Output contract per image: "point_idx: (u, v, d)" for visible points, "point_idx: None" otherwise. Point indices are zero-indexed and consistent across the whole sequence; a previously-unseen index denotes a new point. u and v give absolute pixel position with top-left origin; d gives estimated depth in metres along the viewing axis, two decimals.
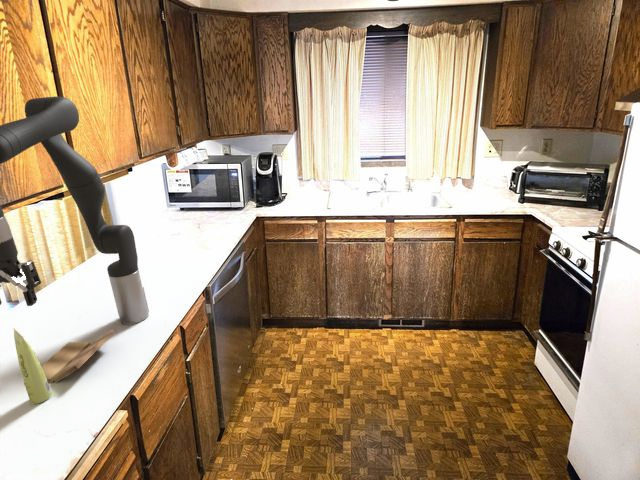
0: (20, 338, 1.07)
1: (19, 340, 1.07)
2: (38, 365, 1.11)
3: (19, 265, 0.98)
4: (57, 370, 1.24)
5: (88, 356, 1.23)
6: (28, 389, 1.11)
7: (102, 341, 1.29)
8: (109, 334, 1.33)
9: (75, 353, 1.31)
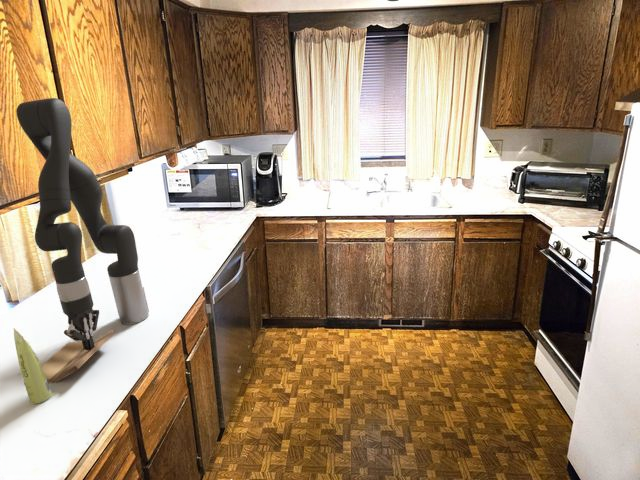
0: (20, 338, 1.07)
1: (19, 340, 1.07)
2: (38, 365, 1.11)
3: None
4: (57, 370, 1.24)
5: (88, 356, 1.23)
6: (28, 389, 1.11)
7: (102, 341, 1.29)
8: (109, 334, 1.33)
9: (75, 353, 1.31)
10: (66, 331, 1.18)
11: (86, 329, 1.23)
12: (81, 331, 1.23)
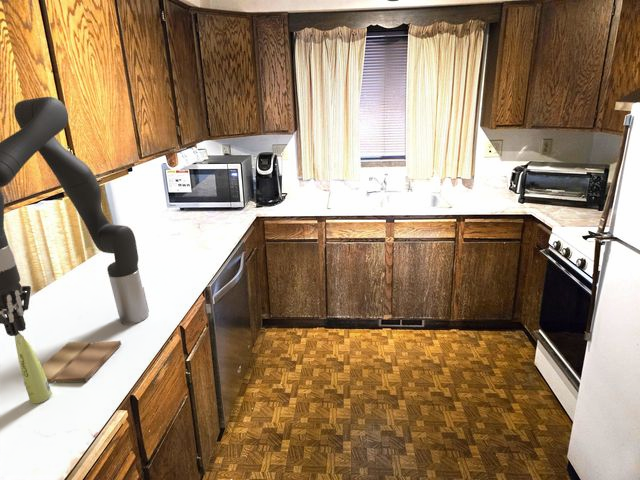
0: (20, 337, 1.07)
1: (20, 339, 1.07)
2: (38, 365, 1.11)
3: (21, 286, 1.09)
4: (57, 370, 1.24)
5: (96, 368, 1.24)
6: (28, 389, 1.11)
7: (110, 353, 1.30)
8: (117, 345, 1.34)
9: (75, 353, 1.31)
10: None
11: (9, 309, 1.04)
12: (3, 312, 1.04)
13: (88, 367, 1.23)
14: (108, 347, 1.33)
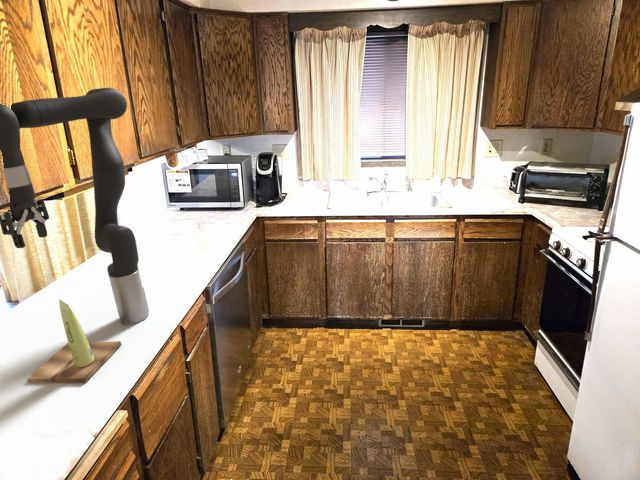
0: (66, 306, 1.19)
1: (65, 308, 1.19)
2: (82, 332, 1.22)
3: (35, 202, 1.22)
4: (57, 370, 1.24)
5: (96, 369, 1.24)
6: (74, 354, 1.22)
7: (110, 353, 1.30)
8: (117, 346, 1.34)
9: None
10: None
11: (21, 221, 1.16)
12: (15, 223, 1.16)
13: (88, 367, 1.23)
14: (108, 347, 1.33)
